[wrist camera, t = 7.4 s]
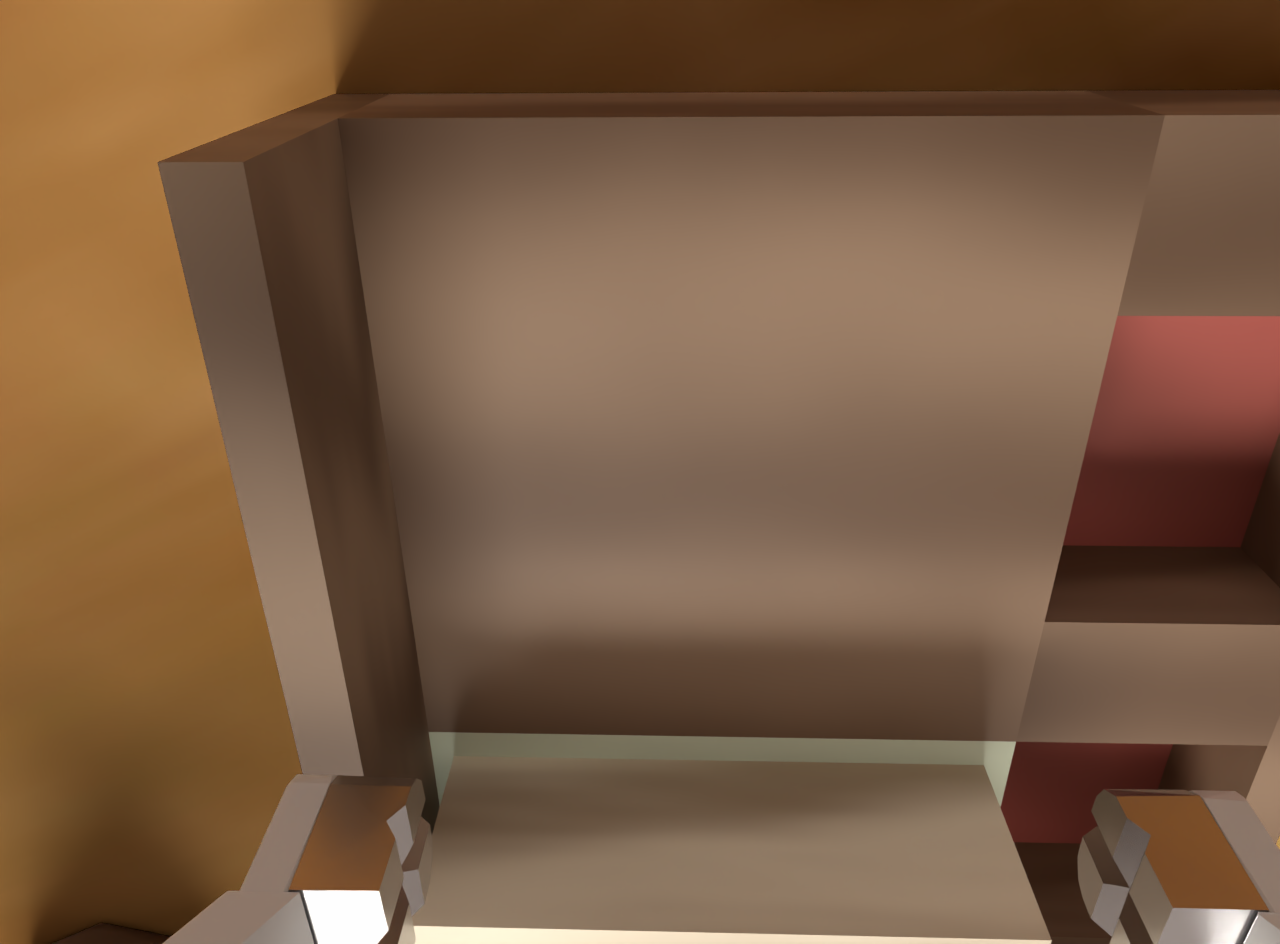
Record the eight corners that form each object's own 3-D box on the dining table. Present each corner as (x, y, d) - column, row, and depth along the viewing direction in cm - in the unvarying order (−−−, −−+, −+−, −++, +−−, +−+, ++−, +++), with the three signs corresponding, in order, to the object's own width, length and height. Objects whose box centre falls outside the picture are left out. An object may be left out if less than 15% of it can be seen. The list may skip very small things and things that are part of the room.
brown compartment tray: (333, 93, 17) (157, 161, 11) (1444, 89, 16) (1870, 158, 10) (449, 873, 26) (386, 1129, 20) (1154, 888, 26) (1292, 1156, 20)
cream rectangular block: (454, 755, 20) (406, 925, 16) (983, 765, 20) (1051, 939, 16) (474, 914, 22) (437, 1092, 19) (948, 924, 22) (1001, 1108, 18)
